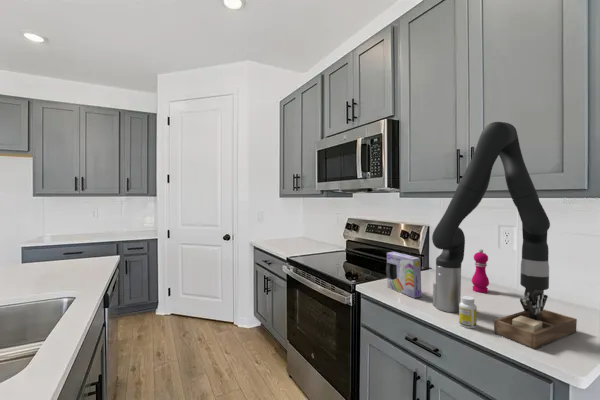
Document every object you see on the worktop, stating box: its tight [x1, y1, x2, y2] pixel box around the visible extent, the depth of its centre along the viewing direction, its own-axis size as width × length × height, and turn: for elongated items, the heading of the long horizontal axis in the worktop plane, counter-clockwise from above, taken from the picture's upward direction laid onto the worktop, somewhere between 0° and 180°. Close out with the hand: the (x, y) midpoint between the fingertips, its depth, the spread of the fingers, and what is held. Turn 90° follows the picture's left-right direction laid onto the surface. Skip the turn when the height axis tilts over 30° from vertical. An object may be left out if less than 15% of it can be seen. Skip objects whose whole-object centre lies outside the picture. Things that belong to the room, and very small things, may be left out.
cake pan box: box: [385, 251, 422, 299], centre depth 145 cm, size 19×5×18 cm, turn 23°
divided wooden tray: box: [493, 309, 578, 350], centre depth 104 cm, size 12×26×4 cm, turn 118°
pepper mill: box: [471, 248, 490, 294], centre depth 148 cm, size 7×7×20 cm
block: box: [512, 316, 542, 333], centre depth 100 cm, size 6×6×4 cm
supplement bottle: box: [458, 295, 478, 329], centre depth 109 cm, size 5×5×10 cm
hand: (533, 324), depth 103 cm, fingers closed
